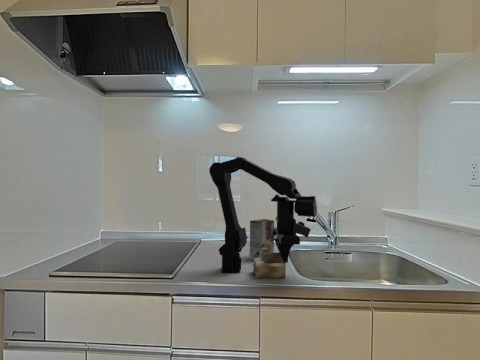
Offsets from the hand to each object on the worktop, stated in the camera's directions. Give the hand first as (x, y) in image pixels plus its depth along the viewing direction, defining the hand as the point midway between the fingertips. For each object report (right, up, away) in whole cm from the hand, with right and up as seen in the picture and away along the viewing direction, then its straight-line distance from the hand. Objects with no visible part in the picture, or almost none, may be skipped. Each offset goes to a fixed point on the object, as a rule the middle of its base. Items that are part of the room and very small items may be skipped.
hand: (284, 261), depth 125 cm
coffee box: (-6, -6, +28) cm, 29 cm away
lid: (-5, -1, +3) cm, 6 cm away
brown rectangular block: (-3, 0, 0) cm, 3 cm away
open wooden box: (-5, -5, +3) cm, 8 cm away
